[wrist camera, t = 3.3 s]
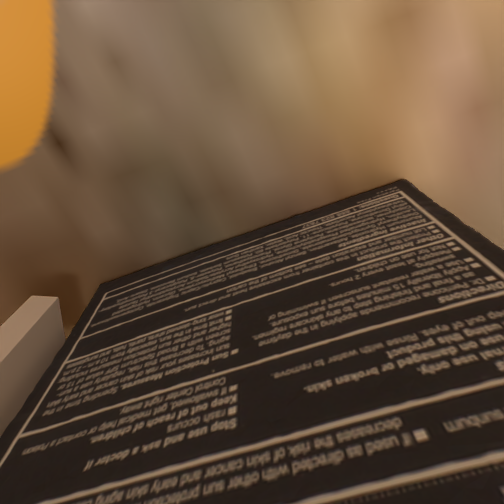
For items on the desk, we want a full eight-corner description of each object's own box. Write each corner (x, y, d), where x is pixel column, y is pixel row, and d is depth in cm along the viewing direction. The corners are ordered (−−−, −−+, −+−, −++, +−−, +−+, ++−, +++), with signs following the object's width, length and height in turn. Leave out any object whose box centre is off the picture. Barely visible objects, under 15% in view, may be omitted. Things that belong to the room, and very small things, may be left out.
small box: (177, 417, 15) (55, 972, 6) (93, 282, 13) (-356, 865, 3) (446, 340, 14) (871, 922, 4) (410, 170, 11) (1234, 659, 2)
